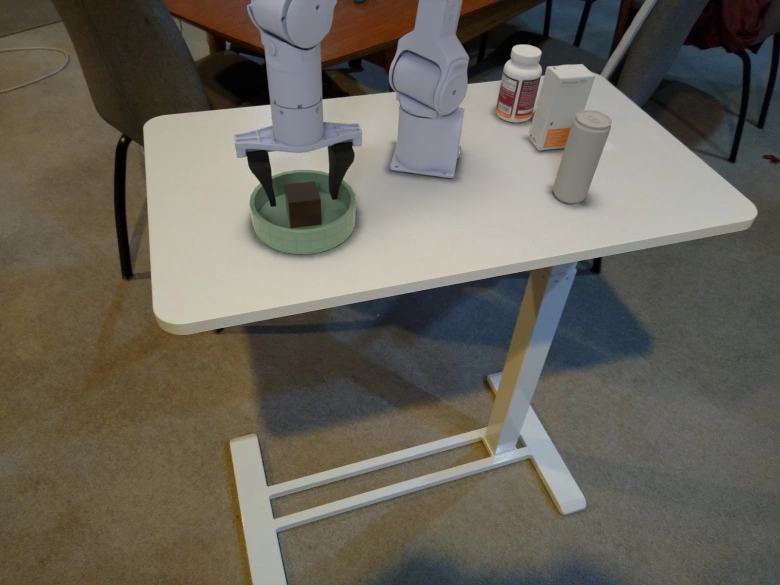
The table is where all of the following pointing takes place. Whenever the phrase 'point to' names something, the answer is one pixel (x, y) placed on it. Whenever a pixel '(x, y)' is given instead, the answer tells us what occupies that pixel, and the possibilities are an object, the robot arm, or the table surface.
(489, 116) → the table surface
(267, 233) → the bowl
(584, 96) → the cosmetic box
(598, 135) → the beverage can
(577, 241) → the table surface
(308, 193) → the block
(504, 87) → the pill bottle
